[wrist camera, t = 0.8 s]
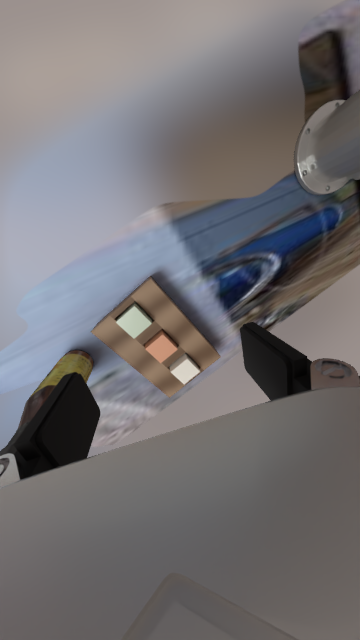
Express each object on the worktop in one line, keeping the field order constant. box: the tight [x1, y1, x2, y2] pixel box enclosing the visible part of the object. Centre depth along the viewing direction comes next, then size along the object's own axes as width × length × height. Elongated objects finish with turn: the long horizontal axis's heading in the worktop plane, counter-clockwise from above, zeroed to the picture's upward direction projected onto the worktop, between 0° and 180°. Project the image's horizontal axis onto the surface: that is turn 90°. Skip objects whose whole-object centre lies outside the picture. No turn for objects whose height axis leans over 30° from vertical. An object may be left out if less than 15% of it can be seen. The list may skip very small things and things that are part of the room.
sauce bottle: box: [0, 350, 93, 456], centre depth 28 cm, size 7×6×20 cm
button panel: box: [91, 276, 220, 398], centre depth 37 cm, size 21×14×4 cm, turn 39°
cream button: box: [170, 353, 200, 384], centre depth 37 cm, size 4×4×3 cm
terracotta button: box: [145, 329, 178, 363], centre depth 35 cm, size 4×4×3 cm
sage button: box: [116, 302, 152, 339], centre depth 32 cm, size 4×4×3 cm
